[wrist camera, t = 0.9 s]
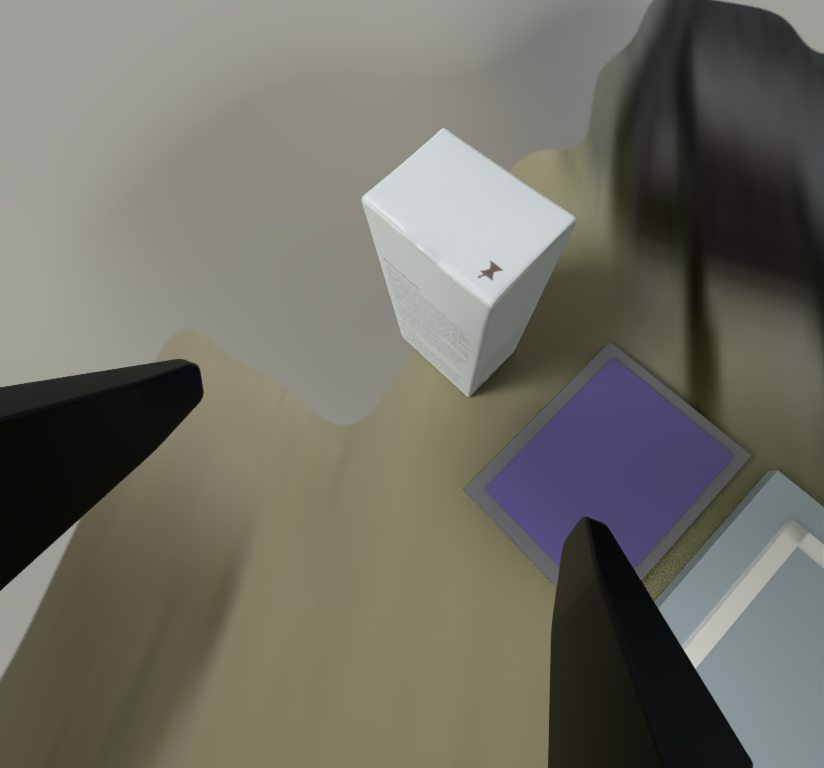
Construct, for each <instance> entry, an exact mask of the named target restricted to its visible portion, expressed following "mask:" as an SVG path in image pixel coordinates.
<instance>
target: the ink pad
mask: <svg viewBox="0 0 824 768" xmlns="http://www.w3.org/2000/svg"><path fill="white" fill-rule="evenodd" d="M751 456H752V455H751V454H749V453H748V452H747V451H746V450H744V449H743V448H742V447H741V446H739V445H738V444H737V443H736V442H734V441H733V440H732V439H731V438H730V437H728V436H727V435H726V434H725V433H723V432H722V431H721V430H720V429H718V428H717V427H716V426H715V425H713V424H712V423H711V422H710V421H708V420H707V419H706V418H705V417H703V416H702V415H701V414H700V413H698V412H697V411H696V410H695V409H694V408H692V407H691V406H690V405H689V404H687V403H686V402H685V401H684V400H682V399H681V398H680V397H679V396H677V395H676V394H675V393H674V392H672V391H671V390H670V389H669V388H667V387H666V386H665V385H664V384H663V383H661V382H660V381H659V380H658V379H656V378H655V377H654V376H653V375H651V374H650V373H649V372H648V371H646V370H645V369H644V368H643V367H641V366H640V365H639V364H638V363H636V362H635V361H634V360H633V359H631V358H630V357H629V356H628V355H627V354H625V353H624V352H623V351H622V350H620V349H619V348H618V347H617V346H615V345H614V344H613V343H612V342H609V343H608V344H607V345H606V346H604V347H603V348H602V349H601V350H600V351H599V352H598V353H597V354H596V355H595V356H594V357H593V358H592V359H591V360H590V361H589V362H588V363H587V364H586V365H585V367H584V368H583V369H582V370H581V371H580V372H579V373H578V374H577V375H576V376H575V377H574V378H573V379H572V380H571V381H570V382H569V383H568V384H567V385H566V386H565V387H564V388H563V389H562V390H561V391H560V392H559V393H558V394H557V395H556V396H555V397H554V398H553V399H552V400H551V401H550V402H549V403H548V404H547V405H546V406H545V407H544V408H543V409H542V410H541V411H540V412H539V413H538V414H537V415H536V416H535V417H534V418H533V419H532V420H531V421H530V422H529V423H528V424H527V425H526V426H525V427H524V428H523V429H522V430H521V431H520V432H519V433H518V434H517V435H516V436H515V437H514V438H513V439H512V440H511V441H510V442H509V443H508V444H507V445H506V446H505V447H504V448H503V449H502V450H501V451H500V452H499V453H498V454H497V455H496V456H495V457H494V458H493V459H492V460H491V461H490V462H489V463H488V464H487V465H486V466H485V467H484V468H483V469H482V470H481V471H480V472H479V473H478V474H477V475H476V476H475V477H474V478H473V480H472V481H471V482H470V483H469V484H468V485H467V486H466V487H465V488H464V491H465V492H466V493H467V494H468V495H469V496H470V497H471V498H472V499H473V500H474V501H475V502H476V503H477V504H478V505H479V506H480V507H481V508H482V509H483V510H484V512H485V513H486V514H487V515H488V516H489V517H490V518H491V519H492V520H493V521H494V522H495V523H496V524H497V525H498V526H499V527H500V528H501V529H502V530H503V532H504V533H505V534H506V535H507V536H508V537H509V538H510V539H511V540H512V541H513V542H514V543H515V544H516V545H517V546H518V547H519V548H520V549H521V550H522V551H523V553H524V554H525V555H526V556H527V557H528V558H529V559H530V560H531V561H532V562H533V563H534V564H535V565H536V566H537V567H538V568H539V569H540V570H541V571H542V572H543V574H544V575H545V576H546V577H547V578H548V579H549V580H550V581H551V582H552V583H553V584H554V585H555V586H556V587H557V582H558V574H559V567H560V560H561V552H562V547H563V544H564V542H565V540H566V538H567V537H568V535H569V534H570V532H571V531H572V530H573V528H574V527H575V526H576V524H577V523H578V521H579V520H580V519H581V518H582V517H585V516H586V517H590V518H592V519H595V520H598V521H600V522H603V523H604V524H606V525H607V526H608V528H609V529H610V531H611V532H612V534H613V536H614V537H615V539H616V540H617V542H618V544H619V545H620V547H621V549H622V550H623V552H624V553H625V555H626V557H627V558H628V560H629V562H630V563H631V565H632V566H633V568H634V570H635V571H636V573H637V575H638V576H639V578H640V579H641V580H642V579H643V578H644V577H645V576H646V575H647V574H648V573H649V571H650V570H651V569H652V568H653V567H654V566H655V565H656V563H657V562H658V561H659V560H660V559H661V558H662V557H663V556H664V554H665V553H666V552H667V551H668V550H669V549H670V548H671V546H672V545H673V544H674V543H675V542H676V541H677V540H678V539H679V537H680V536H681V535H682V534H683V533H684V532H685V531H686V529H687V528H688V527H689V526H690V525H691V524H692V523H693V522H694V520H695V519H696V518H697V517H698V516H699V515H700V514H701V512H702V511H703V510H704V509H705V508H706V507H707V506H708V504H709V503H710V502H711V501H712V500H713V499H714V498H715V497H716V495H717V494H718V493H719V492H720V491H721V490H722V489H723V487H724V486H725V485H726V484H727V483H728V482H729V481H730V480H731V478H732V477H733V476H734V475H735V474H736V473H737V472H738V470H739V469H740V468H741V467H742V466H743V465H744V464H745V463H746V461H747V460H748V459H749V458H750V457H751Z"/></svg>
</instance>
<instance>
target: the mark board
mask: <svg viewBox="0 0 824 768" xmlns="http://www.w3.org/2000/svg"><path fill="white" fill-rule="evenodd" d="M654 602H655V604H656V605H657V607H658V609H659V610H660V612H661V614H662V615H663V617H664V618H665V620H666V622H667V623H668V625H669V627H670V628H671V630H672V631H673V633H674V635H675V636H676V638H677V640H678V641H679V643H680V645H681V646H682V648H683V649H684V651H685V653H686V654H687V656H688V658H689V659H690V661H691V662H692V664H693V666H694V667H695V669H696V671H697V672H698V674H699V675H700V677H701V679H702V680H703V682H704V684H705V685H706V687H707V688H708V690H709V692H710V693H711V695H712V697H713V698H714V700H715V701H716V703H717V705H718V706H719V708H720V710H721V711H722V713H723V714H724V716H725V718H726V719H727V721H728V723H729V724H730V726H731V727H732V729H733V731H734V732H735V734H736V736H737V737H738V739H739V740H740V742H741V744H742V745H743V747H744V749H745V750H746V752H747V754H748V755H749V757H750V758H751V760H752V762H753V768H824V507H823V506H822V505H821V504H819V503H818V502H817V501H816V500H814V499H813V498H812V497H811V496H809V495H808V494H807V493H806V492H804V491H803V490H802V489H801V488H799V487H798V486H797V485H796V484H794V483H793V482H792V481H791V480H789V479H788V478H787V477H786V476H784V475H783V474H782V473H781V472H779V471H778V470H771V471H767V473H766V474H765V475H764V476H763V477H762V478H761V479H760V481H759V482H758V483H757V484H756V485H755V486H754V488H753V489H752V490H751V491H750V492H749V493H748V494H747V496H746V497H745V498H744V499H743V500H742V501H741V502H740V504H739V505H738V506H737V507H736V508H735V509H734V511H733V512H732V513H731V514H730V515H729V516H728V517H727V519H726V520H725V521H724V522H723V523H722V524H721V525H720V527H719V528H718V529H717V530H716V531H715V532H714V534H713V535H712V536H711V537H710V538H709V539H708V540H707V542H706V543H705V544H704V545H703V546H702V547H701V548H700V550H699V551H698V552H697V553H696V554H695V555H694V557H693V558H692V559H691V560H690V561H689V562H688V563H687V565H686V566H685V567H684V568H683V569H682V570H681V572H680V573H679V574H678V575H677V576H676V577H675V578H674V580H673V581H672V582H671V583H670V584H669V585H668V586H667V588H666V589H665V590H664V591H663V592H662V593H661V595H660V596H659V597H658V598H657V599H656V600H655V601H654Z"/></svg>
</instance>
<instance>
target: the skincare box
mask: <svg viewBox="0 0 824 768" xmlns="http://www.w3.org/2000/svg"><path fill="white" fill-rule="evenodd" d="M362 203H363V207H364V210H365V213H366V216H367V219H368V223H369V227H370V229H371V233H372V237H373V240H374V243H375V247H376V250H377V253H378V257H379V260H380V263H381V266H382V270H383V274H384V277H385V280H386V284H387V287H388V290H389V294H390V297H391V300H392V304H393V307H394V310H395V313H396V316H397V320H398V324H399V327H400V331H401V334H402V336H403V338H404V339H405V340H407V341H408V342H409V343H410V344H411V345H412V346H413V347H414V348H415V349H416V350H417V351H418V352H419V353H421V354H422V355H423V356H424V357H425V358H426V359H427V360H428V361H429V362H430V363H431V364H432V365H434V366H435V367H436V368H437V369H438V370H439V371H440V372H441V373H442V374H443V375H444V376H445V377H447V378H448V379H449V380H450V381H451V382H452V383H453V384H454V385H455V386H456V387H457V388H459V389H460V390H461V391H462V392H463V393H464V394H465V395H466V396H467V397H470V396H471V395H472V394H473V393H474V392H475V391H476V390H477V389H478V388H479V387H480V386H481V385H482V384H483V383H484V382H485V381H486V380H487V379H488V378H489V377H490V376H491V375H492V374H493V373H494V372H495V371H496V370H497V369H498V368H499V367H500V366H501V364H502V363H503V362H504V361H505V360H506V359H507V358H508V357H509V356H510V355H511V354H512V353H513V352H514V351H515V349H516V347H517V344H518V342H519V340H520V338H521V337H522V334H523V332H524V330H525V328H526V326H527V324H528V322H529V320H530V318H531V316H532V313H533V311H534V309H535V307H536V305H537V303H538V301H539V299H540V297H541V295H542V293H543V290H544V288H545V287H546V285H547V283H548V280H549V278H550V276H551V274H552V272H553V270H554V268H555V266H556V264H557V261H558V259H559V257H560V255H561V253H562V251H563V249H564V247H565V245H566V243H567V241H568V239H569V237H570V235H571V233H572V231H573V228H574V226H575V224H576V217H575V216H574V215H572V214H571V213H569V212H568V211H566V210H565V209H563V208H561V207H560V206H558V205H557V204H555V203H554V202H552V201H551V200H549V199H548V198H546V197H545V196H544V195H542V194H541V193H539V192H538V191H536V190H535V189H533V188H532V187H530V186H529V185H527V184H526V183H524V182H523V181H521V180H520V179H518V178H517V177H515V176H514V175H513V174H511V173H510V172H508V171H507V170H505V169H504V168H502V167H501V166H499V165H498V164H496V163H495V162H493V161H492V160H490V159H489V158H487V157H486V156H484V155H483V154H481V153H480V152H478V151H477V150H475V149H474V148H473V147H471V146H470V145H468V144H467V143H465V142H464V141H462V140H461V139H459V138H457V137H456V136H455V135H453V134H452V133H451V132H449V131H448V130H447V129H445V128H442V129H441V130H440V131H439V132H438V133H437V134H435V135H434V136H433V137H432V138H431V139H430V140H429V141H427V143H425V144H424V145H423V146H422V147H421V148H420V149H418V150H417V151H416V152H415V153H414V154H413V155H412V156H410V157H409V158H408V159H407V160H406V161H405V162H403V163H402V164H401V165H400V166H399V167H398V168H396V169H395V170H394V171H393V172H392V173H390V174H389V175H388V176H387V177H386V178H384V179H383V180H382V181H381V182H380V183H378V184H377V185H376V186H375V187H374V188H372V189H371V190H370V191H369V192H367V193H366V194H365V195H364V196H363V197H362Z"/></svg>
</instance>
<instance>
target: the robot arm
mask: <svg viewBox="0 0 824 768" xmlns="http://www.w3.org/2000/svg"><path fill="white" fill-rule="evenodd" d="M203 394H204V391H203V385H202V378H201V372H200V368H199V367H198V365H196V364H195V363H192V362H190V361H187V360H184V359H174V360H168V361H162V362H156V363H149V364H144V365H137V366H131V367H125V368H118V369H112V370H106V371H99V372H93V373H87V374H81V375H75V376H68V377H62V378H56V379H50V380H44V381H37V382H31V383H24V384H18V385H12V386H6V387H0V591H1V590H2V589H3V588H4V587H5V586H6V585H7V584H8V583H10V581H12V580H13V579H14V578H15V577H16V576H17V575H18V574H19V573H21V572H22V571H23V570H24V569H25V568H26V567H27V566H28V565H29V564H30V563H32V562H33V561H34V560H35V559H36V558H37V557H38V556H39V555H40V554H42V553H43V552H44V551H45V550H46V549H47V548H48V547H49V546H50V545H51V544H53V543H54V541H56V540H57V539H58V538H59V537H60V536H61V535H63V534H64V533H65V532H66V531H67V530H68V529H69V528H70V527H71V526H72V525H73V524H75V523H76V522H77V521H78V520H79V519H80V518H81V517H82V516H84V515H85V514H86V513H87V512H88V511H89V510H90V509H91V508H92V507H93V506H95V505H96V504H97V503H98V502H99V501H100V500H101V499H102V498H103V497H105V496H106V495H107V494H108V493H109V492H110V491H111V490H112V489H113V488H114V487H116V486H117V485H118V484H119V483H120V482H121V481H122V480H123V479H124V478H125V477H127V476H128V475H129V474H130V473H131V472H132V471H133V470H134V469H135V468H137V467H138V466H139V465H140V464H141V463H142V462H143V461H144V460H145V459H146V458H148V457H149V456H150V455H151V454H152V453H153V452H154V451H155V450H156V449H157V448H158V447H159V446H160V445H161V444H162V443H163V442H164V441H165V440H166V438H167V437H168V436H169V435H170V434H171V433H172V432H173V431H174V430H175V429H176V428H177V427H178V425H179V424H180V423H181V422H182V421H183V420H184V419H185V418H186V417H187V416H188V415H189V413H190V412H191V411H192V410H193V409H194V408H195V407H196V406H197V405H198V404H199V402H200V401H201V400H202V397H203ZM548 768H753V762H752V760H751V758H750V757H749V755H748V754H747V752H746V750H745V749H744V747H743V745H742V744H741V742H740V740H739V739H738V737H737V736H736V734H735V732H734V731H733V729H732V727H731V726H730V724H729V723H728V721H727V719H726V718H725V716H724V714H723V713H722V711H721V710H720V708H719V706H718V705H717V703H716V701H715V700H714V698H713V697H712V695H711V693H710V692H709V690H708V688H707V687H706V685H705V684H704V682H703V680H702V679H701V677H700V675H699V674H698V672H697V671H696V669H695V667H694V666H693V664H692V662H691V661H690V659H689V658H688V656H687V654H686V653H685V651H684V649H683V648H682V646H681V645H680V643H679V641H678V640H677V638H676V636H675V635H674V633H673V631H672V630H671V628H670V627H669V625H668V623H667V622H666V620H665V618H664V617H663V615H662V614H661V612H660V610H659V609H658V607H657V605H656V604H655V602H654V601H653V599H652V597H651V596H650V594H649V592H648V591H647V589H646V588H645V586H644V584H643V583H642V581H641V579H640V578H639V576H638V575H637V573H636V571H635V570H634V568H633V566H632V565H631V563H630V562H629V560H628V558H627V557H626V555H625V553H624V552H623V550H622V549H621V547H620V545H619V544H618V542H617V540H616V539H615V537H614V536H613V534H612V532H611V531H610V529H609V528H608V526H607V525H606V524H604V523H603V522H600V521H598V520H595V519H592V518H590V517H586V516H585V517H582V518H581V519H580V520H579V521H578V523H577V524H576V526H575V527H574V528H573V530H572V531H571V532H570V534H569V535H568V537H567V538H566V540H565V542H564V544H563V547H562V552H561V560H560V567H559V574H558V582H557V589H556V596H555V603H554V611H553V619H552V629H551V659H550V705H549V750H548Z"/></svg>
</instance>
